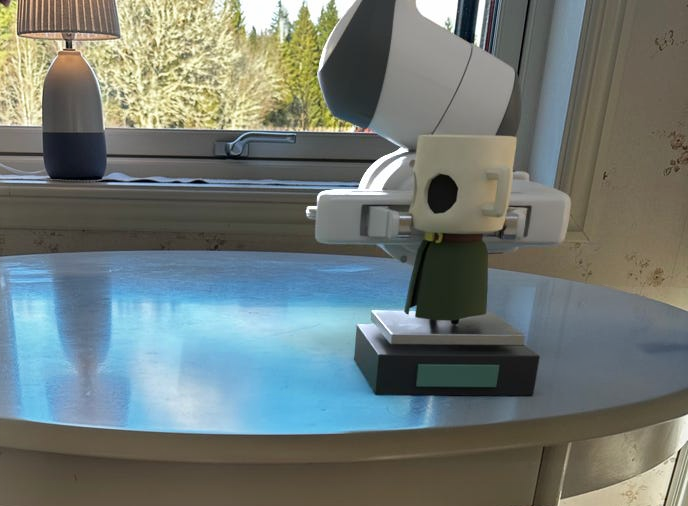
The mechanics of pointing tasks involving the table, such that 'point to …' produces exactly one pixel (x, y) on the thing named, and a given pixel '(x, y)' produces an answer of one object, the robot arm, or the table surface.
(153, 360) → the table surface
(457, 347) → the scale
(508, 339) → the scale pan
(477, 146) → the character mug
